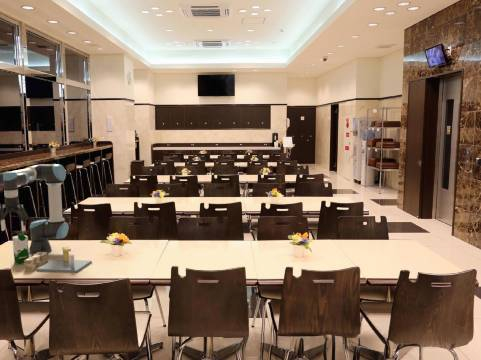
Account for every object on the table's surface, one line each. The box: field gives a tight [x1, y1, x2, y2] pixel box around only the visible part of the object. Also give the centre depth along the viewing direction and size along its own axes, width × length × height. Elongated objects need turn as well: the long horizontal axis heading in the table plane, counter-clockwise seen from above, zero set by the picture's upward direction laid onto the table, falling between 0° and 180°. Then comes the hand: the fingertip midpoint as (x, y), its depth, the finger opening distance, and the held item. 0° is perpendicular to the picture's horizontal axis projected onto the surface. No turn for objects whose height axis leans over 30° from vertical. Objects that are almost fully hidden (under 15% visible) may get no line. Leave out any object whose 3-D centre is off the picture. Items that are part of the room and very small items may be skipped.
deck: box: [36, 246, 93, 274], centre depth 299 cm, size 21×27×11 cm
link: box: [23, 252, 49, 272], centre depth 300 cm, size 18×6×7 cm, turn 173°
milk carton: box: [12, 232, 30, 265], centre depth 308 cm, size 9×9×20 cm
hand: (13, 230), depth 282 cm, fingers open, 13 cm apart
